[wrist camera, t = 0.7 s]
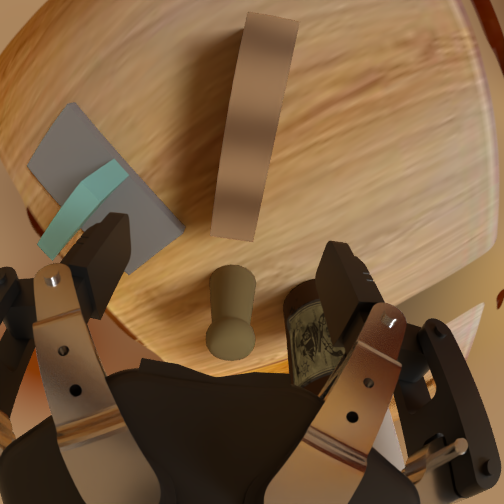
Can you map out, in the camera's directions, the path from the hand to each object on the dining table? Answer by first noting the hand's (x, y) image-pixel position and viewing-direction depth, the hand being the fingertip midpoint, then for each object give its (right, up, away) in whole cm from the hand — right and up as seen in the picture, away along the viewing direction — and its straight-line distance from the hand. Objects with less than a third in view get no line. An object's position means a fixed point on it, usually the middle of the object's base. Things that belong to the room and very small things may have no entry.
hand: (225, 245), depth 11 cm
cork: (-1, -4, +25) cm, 26 cm away
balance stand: (-16, +7, +17) cm, 25 cm away
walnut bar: (+1, +13, +15) cm, 19 cm away
